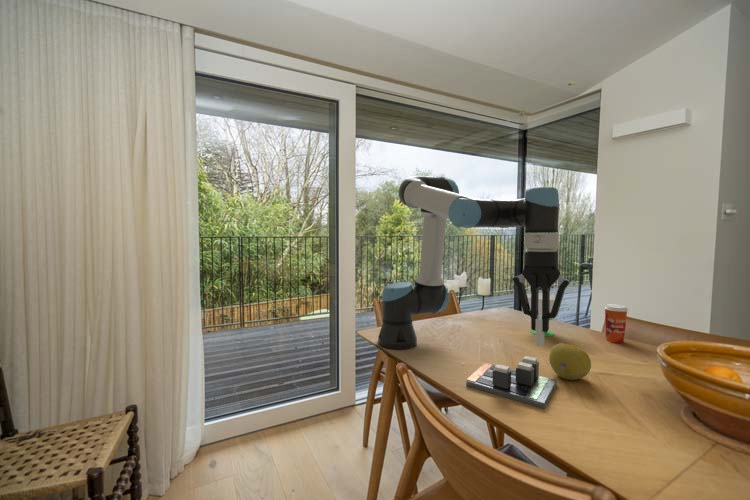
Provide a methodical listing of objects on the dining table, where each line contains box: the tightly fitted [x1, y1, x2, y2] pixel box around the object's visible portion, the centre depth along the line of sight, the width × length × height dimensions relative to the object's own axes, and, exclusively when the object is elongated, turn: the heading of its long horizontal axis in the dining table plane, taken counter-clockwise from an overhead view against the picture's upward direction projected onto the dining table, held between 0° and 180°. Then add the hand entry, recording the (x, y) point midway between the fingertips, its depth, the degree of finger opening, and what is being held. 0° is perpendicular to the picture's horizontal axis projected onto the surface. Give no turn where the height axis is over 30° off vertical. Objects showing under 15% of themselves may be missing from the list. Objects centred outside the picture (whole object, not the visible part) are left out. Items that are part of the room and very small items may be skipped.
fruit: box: [548, 342, 592, 381], centre depth 99 cm, size 10×11×10 cm
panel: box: [465, 362, 557, 410], centre depth 94 cm, size 20×16×2 cm
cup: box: [527, 292, 557, 337], centre depth 142 cm, size 14×14×16 cm
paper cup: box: [604, 303, 629, 344], centre depth 131 cm, size 8×8×14 cm
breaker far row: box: [521, 355, 540, 379], centre depth 96 cm, size 4×3×5 cm
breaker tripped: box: [493, 363, 511, 389], centre depth 91 cm, size 4×3×5 cm
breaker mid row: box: [515, 361, 534, 386], centre depth 92 cm, size 4×3×5 cm
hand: (539, 343), depth 84 cm, fingers closed
